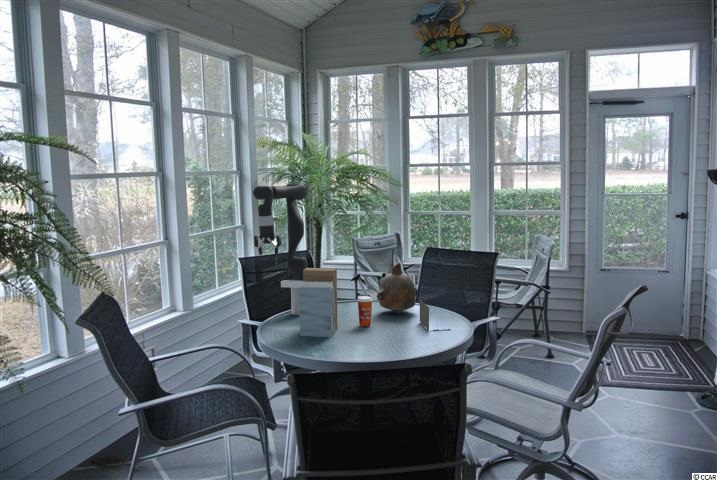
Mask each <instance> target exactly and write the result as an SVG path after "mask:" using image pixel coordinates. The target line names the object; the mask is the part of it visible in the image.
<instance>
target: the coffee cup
mask: <svg viewBox="0 0 717 480" xmlns="http://www.w3.org/2000/svg"><path fill="white" fill-rule="evenodd" d="M356 301H357V306H358V307H357V308H358V309H357V311H358V321H359V322H358V323H359V324H358V325H359V327H364V326H367V327H371V324H372V310H373V309H372V308H373V298H372V297H371V296H366V295H365V296H362V295H361V296H359V297H358V298H357V299H356Z"/></svg>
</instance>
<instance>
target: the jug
mask: <svg viewBox="0 0 717 480" xmlns="http://www.w3.org/2000/svg"><path fill="white" fill-rule="evenodd" d="M391 269H392V270H389V271H388V274H386V275H385V276H384V277H383V279H382V280H381V282H380V285H379V289H378V292H377V294H376V298H377V301H378V303H379V306H380V307H381V308H384V309H387V310H389V311H392V312H393V313H396V314H400V313H402V312H404V311H407V310H409V309H412V308H413V307H415V306H416V302H417V301H416V299H417V296H418V288H416V286H415V284H414V282H413V280H412V278H411V276H409V275H408V274H407V273H405V272H403V269H402V266H401V262H397V263H396V264H395V265H393V266H392V268H391ZM399 312H400V313H399Z"/></svg>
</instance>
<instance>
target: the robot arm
mask: <svg viewBox="0 0 717 480" xmlns="http://www.w3.org/2000/svg"><path fill="white" fill-rule="evenodd" d="M252 194H253V197H254V198H255V199H256V200H259V201H262V200H263V203H262V204H259V205H258V207H257V211H258V227H259V228H258V230H259V235H258V234H257V235H254V237H253V240H254V241H253V244H254V246H253V247H254V248H257V249H258V254H259V256H262V255H263V253H264V252H263V245H264V244H271V245H272V246H273V247H274V255H275V256H277V255H278V254H279V247H281V246H282V238H281V234H275V228H274V227H275V226H274V219H273V218H274V217H273V210H272V209H273V201H274V200H281V199H282V200H283V199H285V201H286V203H285V204H286V208H287V209H286V210H287V239H288V240H287V242H288V243H287V245H288V247H287V248H288V249H287V264H286V265H287V269H288V272H289V273H292V274H294V273H295V274H298V277H295V278H293V279H291V280H296V281H303V270H304V269H306V268H309V267H308V266H309V262H308V260H307V258H306V257H305V256H297V254H296V253H297V249H298V246H299V244H300V243H301V241H302V239H303V237H304V235H305V224H304V220H303V218H302V216H301V215H300V214H301V213H299V211H298V209H297V203H296V201H300V200H301V201H302V200H304V199H306V197H307V194H308V189H307V187H306V185H305V184H303V183H288V184H287V185H286V186H284V185H271V186H270V185H261V186H260V185H259V186H255V188H254V189H253V191H252ZM275 239H276V240H275ZM259 240H260V241H259ZM290 294H291V295H290V298H291V299H290V302H291V303H290V308H291V316H300V310H299V288H290Z"/></svg>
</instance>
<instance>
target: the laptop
mask: <svg viewBox="0 0 717 480" xmlns="http://www.w3.org/2000/svg"><path fill="white" fill-rule="evenodd" d="M429 321H430V306H428V305H427V304H426V303H424V302H423V301H422V300H421V299H419V323H420V322H421V323H422V324H423V325H424V326H425V327H426V328H427V329H428V330H429ZM421 323H420V324H421ZM422 324H421V325H422ZM423 325H422V326H423ZM424 326H423V327H424ZM425 327H424V328H425ZM426 328H425V329H426ZM427 329H426V330H427ZM428 330H427V331H428Z"/></svg>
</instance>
